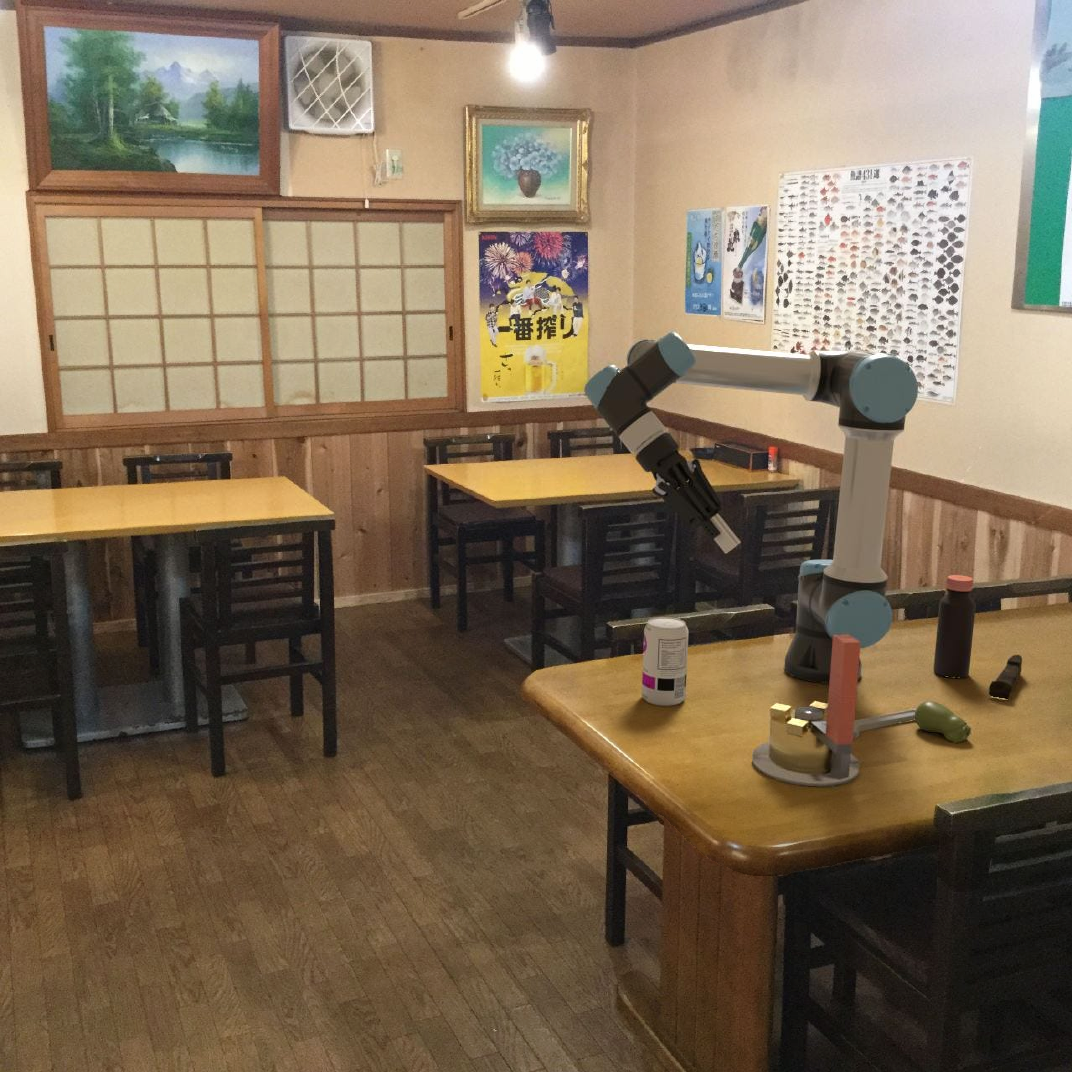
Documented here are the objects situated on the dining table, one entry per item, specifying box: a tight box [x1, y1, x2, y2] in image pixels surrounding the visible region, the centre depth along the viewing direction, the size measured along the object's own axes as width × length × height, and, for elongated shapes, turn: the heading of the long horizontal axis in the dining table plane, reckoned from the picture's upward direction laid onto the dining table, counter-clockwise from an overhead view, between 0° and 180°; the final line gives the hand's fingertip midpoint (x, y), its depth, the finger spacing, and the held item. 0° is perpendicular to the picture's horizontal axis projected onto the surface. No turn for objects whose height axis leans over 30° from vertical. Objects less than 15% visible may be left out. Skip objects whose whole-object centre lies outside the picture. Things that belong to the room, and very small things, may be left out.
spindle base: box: [751, 706, 861, 788], centre depth 190 cm, size 17×17×10 cm
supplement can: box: [641, 616, 689, 707], centre depth 218 cm, size 8×8×15 cm
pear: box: [914, 700, 972, 744], centre depth 205 cm, size 6×5×10 cm
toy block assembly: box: [768, 634, 861, 773], centre depth 185 cm, size 19×12×24 cm, turn 11°
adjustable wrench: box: [853, 707, 917, 740], centre depth 208 cm, size 25×6×2 cm, turn 113°
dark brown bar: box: [988, 654, 1023, 700], centre depth 230 cm, size 19×4×5 cm, turn 146°
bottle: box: [933, 574, 977, 679], centre depth 236 cm, size 7×7×20 cm
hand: (733, 548), depth 206 cm, fingers closed
